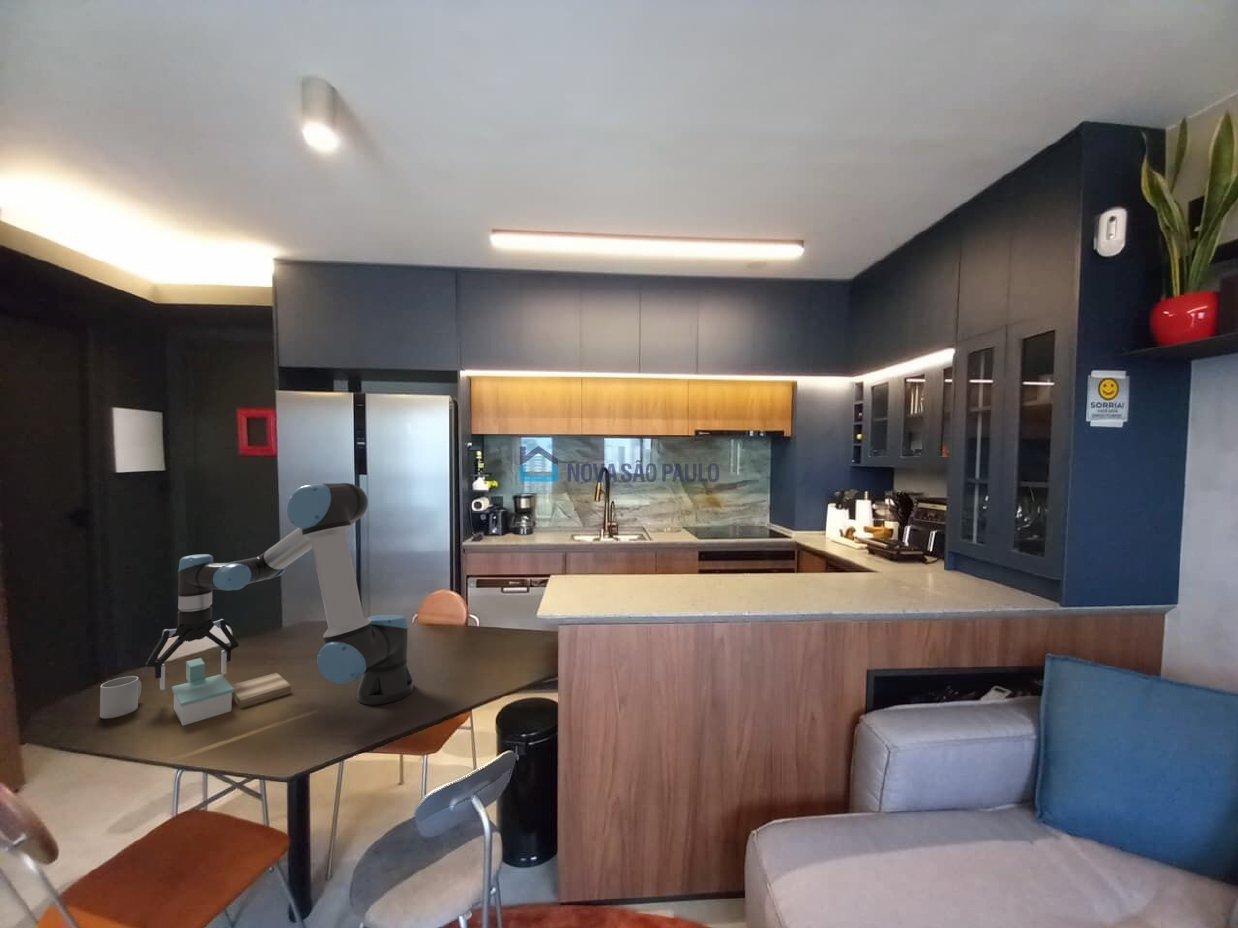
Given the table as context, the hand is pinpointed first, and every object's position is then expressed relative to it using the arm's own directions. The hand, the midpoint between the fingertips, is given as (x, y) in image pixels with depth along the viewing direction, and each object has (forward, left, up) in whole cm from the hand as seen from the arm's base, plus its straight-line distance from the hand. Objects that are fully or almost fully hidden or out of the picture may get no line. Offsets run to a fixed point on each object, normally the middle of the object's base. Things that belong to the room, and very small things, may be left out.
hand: (194, 680), depth 140 cm
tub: (-13, 0, -5) cm, 14 cm away
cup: (+4, +14, -6) cm, 16 cm away
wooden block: (-13, -13, -5) cm, 19 cm away
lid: (-9, 0, 0) cm, 9 cm away
